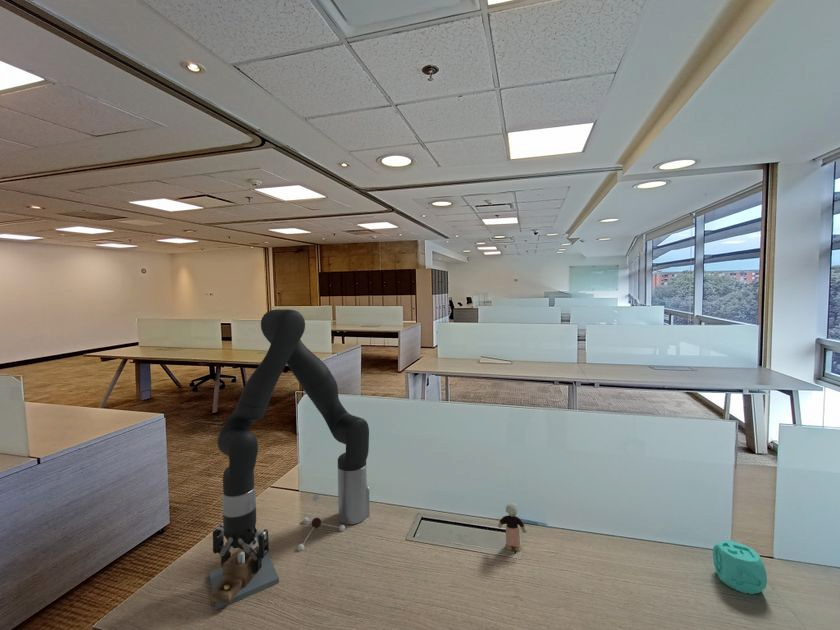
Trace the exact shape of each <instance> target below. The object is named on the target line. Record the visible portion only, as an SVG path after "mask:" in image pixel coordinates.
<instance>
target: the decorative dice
mask: <svg viewBox="0 0 840 630" xmlns="http://www.w3.org/2000/svg"><path fill="white" fill-rule="evenodd" d="M712 548H713V549H712V558H713V559H712V560H713V565H714V569H715V573H716V574H717V577H718V578H719V579H720V581H721V582H722V583H723V584H725V585H726V586H727V587H729V588H730V589H732V590H735V591H737V592H739V591H740V593H743V594H747V593H749V595H755V593H756V594H758V593H761V592H762V591H764V590H765V589H766V588H767V585H768V584H767V583H768V576H767V571H766V570H767V569H766V567H765V563H764V561H763V559H762V558H761V556H760V554H759V553H758V552H756V550H754V549H753V548H751V547H749V546H747V545H745V544H743V543H740V542H737V541H733V540H722V541H719V542H717V543H716V544H715V545H714V546H713V547H712Z"/></svg>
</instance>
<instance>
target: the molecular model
mask: <svg viewBox="0 0 840 630" xmlns="http://www.w3.org/2000/svg"><path fill="white" fill-rule="evenodd" d="M311 498H312V500H313V501H314V502H315V503H314V504H315V506H317V501H318V500H319V498H320V497H319V495H318V493H315V494H313V495H312V497H311ZM302 523H303V524H308V523H311V527H312V529H311V530H310V532H309V533H308V535H307V537H306V538H305V540H304V542H303V543H300V544H298V546H297V551H299V552H301V551H304V549H305V545H304V544H305V543H306V541H307V539H308V537H309V536H310V535H311V533H312V532H313V530H314V529H318V528H320V526H321V525H323V526H329V527H334V528H337V529H338V530H339V531H340V532H343V531H345V529H346V525H345V524H340V525H339V526H336V525H330V524H324V523H322V520H321V518H319V517H314V518H313V519H312V520H311V521H310V519H309V517H304V518H303V519H302Z"/></svg>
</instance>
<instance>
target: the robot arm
mask: <svg viewBox="0 0 840 630" xmlns="http://www.w3.org/2000/svg"><path fill="white" fill-rule="evenodd" d="M260 330H261V332H262V334H263V336H264V337H265V340H267V341H268V343H269V344H270V345H269V348H268V350H267V352H266V354H265V356H264V358H263V359H262V361H260V363H259V365H258V366H257V368H256V369H255V370H254V371H253V373H252V374H251V375H250V376H249V378H248V380H247V381H246V383H245V385H244V387H243V389H242V392H241V394H240V397H239V399H238V402H237V404H236V408H235V409H234V411H232V413H231V414H230V416H229V417H228V419H227V420H226V422H225V423H224V425H223V426H222V428H221V430H220V432H219V434H218V438H217V448H218V450H219V451H220V452H221V454H224V455H226V456H227V457H228V458H229V459H228V461H229V462H228V464H229V465H228V467H226V469H224V471H223V475H222V489H223V490H222V491H223V492H222V493H223V494H222V524H220V525H219V526H218V527H217V528H215V529H214V530H213V531H212V553H213V554H219V557H220V559H221V560H220V561H221V562H220V564H221V567H222V568H223V564H224V563H225V562H226V561H227V560H228V559H229V558H230V557H231V556H232V554H231V553H232V552H231V551H230V550H231V549H244V550H245V551H246V553H247V554H250V555H251V557H252V559H253V560H252V568H253V574H256V573H257V572H258V571H259V570H260V569H261V567H262V559H263V558H264V556H265V555H266V554H267V553H268V554H269V552H270V544H269V541H270V540H269V530H268V529H263V530H261V531H260V530H257V527H256V525H257V499H256V491H255V475H254V473H255V472H254V471H255V466H256V464H257V458H258V452H259V444H258V439H257V436H256V435H255V433H253V432H252V431H250V429H251V427H252V425H253V424H254V422H256V421H260V420H262V418H263V417H264V415H265V413H266V410H267V408H268V405H269V403H270V401H271V398H272V395H273V393H274V390H275V388H276V385H277V383H278V381H279V379H280V377H281V375H282V373H283V371H284V369H285V367H286V366H287V367H288V368H289V370H290V371H291V373H292V374H293V376H294V377H295V378H296V380H297V381H298V384H299V385H300V386H301V388H302V389H303V391H304V392H305V394H306V395H307V397H308V398H309V399H310V401H311V402H312V404H313V405H314V406H315V408H316V409H317V410H318V412H319V413H320V414H321V415H322V418H323V419H324V422H325V424H326V425H327V427H328V429H329V431H330V433H331V435H332V436H333V438H334V439H335V440H336V441H337V442H339V443H341V444H343V445H345V452H343V453H342V454H340V455H339V456H338V458H337V490H338V491H337V492H338V493H337V495H338V497H337V499H338V511H337V513H338V520H339V521H340V522H341V523H342V524H343V525H355V524H359V523H361V522H363V521H365V520H366V518H367V517H369V516H370V513H371V512H370V511H371V509H370V487H369V486H368V484H367V483H368V481H367V477H368V476H367V459H368V455H369V448H370V428H369V424H368V422H367V420H366V419H365V418H363V417H359V416H356V415H352V414H350V413H349V411H347V410H346V408H345V407H344V406H343V404H342V402H341V401H340V397H339V387H338V383H337V381H336V379H335V377H334V376H333V373H332V372H331V370H330V369H329V368H328V366H327V365H326V364H325V363H324V361H322V360H321V359H320V358H319V357H318V356H317V355H316V354H314V353H313V352H312V351H311V350H310V349H309V348H308V347H307V346H306V345H305V344H304V342H303V341H302V340H301V338H302V337H303V334H304V333H305V330H306V321H305V317H304V316H303V315H302V313H301V312H299V311H298V310H295V309H271V310H268V311H267V312H265V313H264V314H263V316H262V318H261V321H260ZM224 539H226V542H225V543H224V541H225V540H224ZM251 544H252V545H251ZM250 545H251V546H250ZM254 550H255V551H256V552H257V553H255V551H254Z"/></svg>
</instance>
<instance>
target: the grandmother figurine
mask: <svg viewBox="0 0 840 630" xmlns="http://www.w3.org/2000/svg"><path fill="white" fill-rule="evenodd" d="M518 509H519V508H518V506H517V504H516V503H513V502H510V503H508V504H507V505H506V506H505V512H506V513H507V514H508V515H505V516H503V517H502V518H501V519H499V522H498V524H497V527H498V528H499V529H501V528H502V527H503V525H506V526H505V542H506V543H505V547H506V550H509V551H512V550H513V548H514V550H515V551H516V552H520V551H521V550H522V549H523V547H522V544H521V535H520V528H521V531H522V533H523V534H526V533H527V530H526V527H525V524H524V522H523V521H522V519H521V518H519V517H518V516H516V515H517V514H518ZM519 527H520V528H519Z"/></svg>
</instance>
